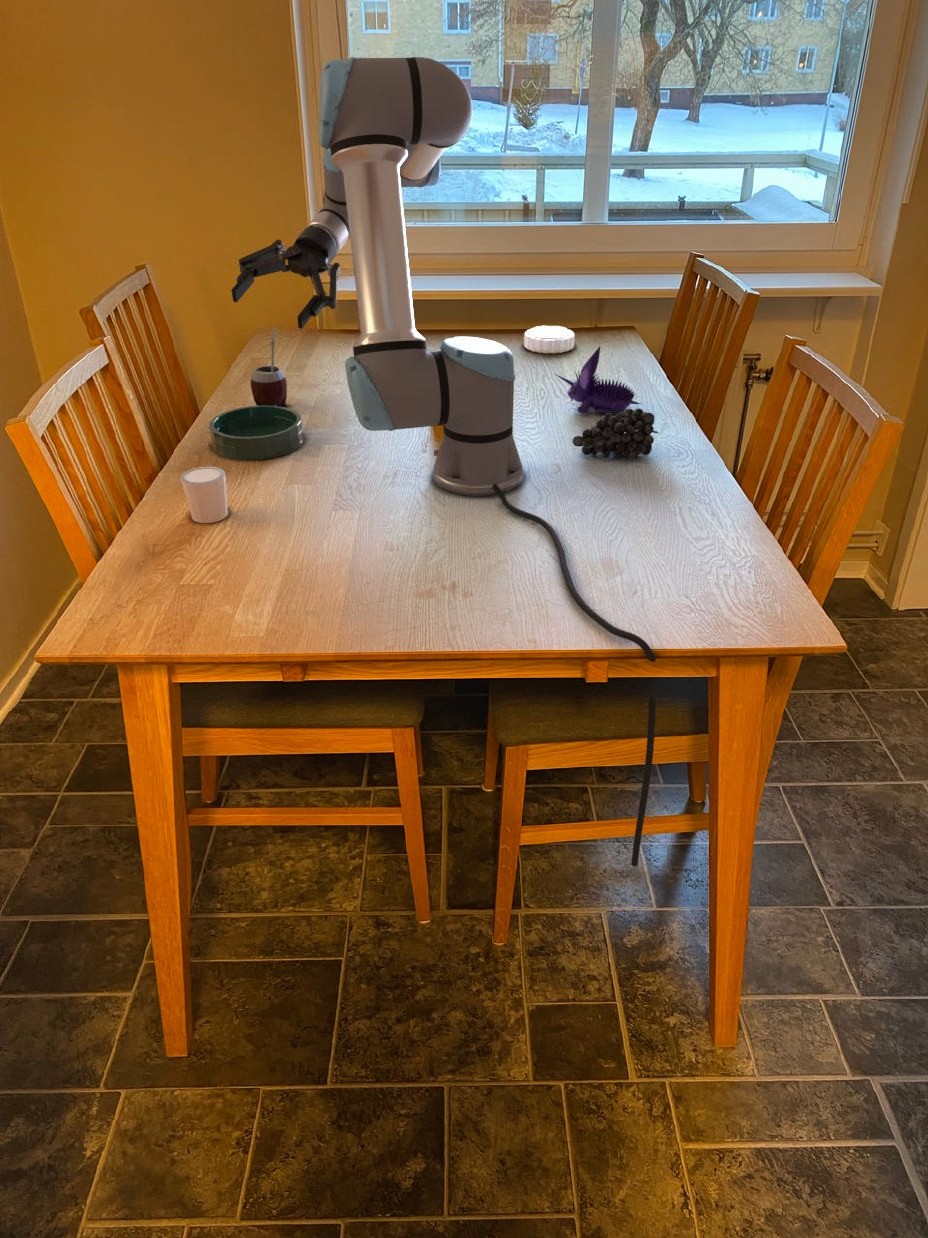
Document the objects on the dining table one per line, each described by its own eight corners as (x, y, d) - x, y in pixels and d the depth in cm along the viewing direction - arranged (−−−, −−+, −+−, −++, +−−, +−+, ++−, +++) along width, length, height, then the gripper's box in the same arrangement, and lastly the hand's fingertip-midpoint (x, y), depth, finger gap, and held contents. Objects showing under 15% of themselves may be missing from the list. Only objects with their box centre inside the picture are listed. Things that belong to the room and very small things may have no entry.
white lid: (547, 335, 230) (548, 321, 228) (584, 346, 223) (585, 331, 221) (513, 345, 224) (513, 330, 222) (550, 357, 216) (550, 341, 214)
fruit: (574, 410, 162) (661, 408, 161) (570, 409, 170) (653, 406, 169) (574, 461, 164) (660, 458, 163) (570, 457, 172) (652, 455, 171)
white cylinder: (220, 526, 146) (213, 485, 142) (180, 522, 147) (172, 482, 143) (238, 507, 152) (232, 467, 148) (199, 504, 153) (191, 464, 149)
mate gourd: (258, 416, 185) (248, 341, 177) (249, 404, 192) (239, 330, 183) (295, 411, 188) (287, 336, 180) (285, 398, 194) (277, 326, 186)
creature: (553, 399, 192) (556, 340, 186) (642, 404, 190) (648, 344, 183) (549, 415, 185) (552, 354, 178) (641, 420, 183) (647, 358, 176)
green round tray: (305, 456, 169) (303, 434, 167) (211, 463, 166) (207, 441, 164) (300, 422, 183) (298, 402, 180) (214, 429, 180) (210, 408, 178)
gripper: (378, 279, 184) (327, 348, 173) (265, 235, 186) (209, 300, 176) (379, 248, 177) (326, 318, 167) (262, 202, 180) (204, 268, 170)
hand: (266, 309), depth 172 cm, fingers open, 13 cm apart
